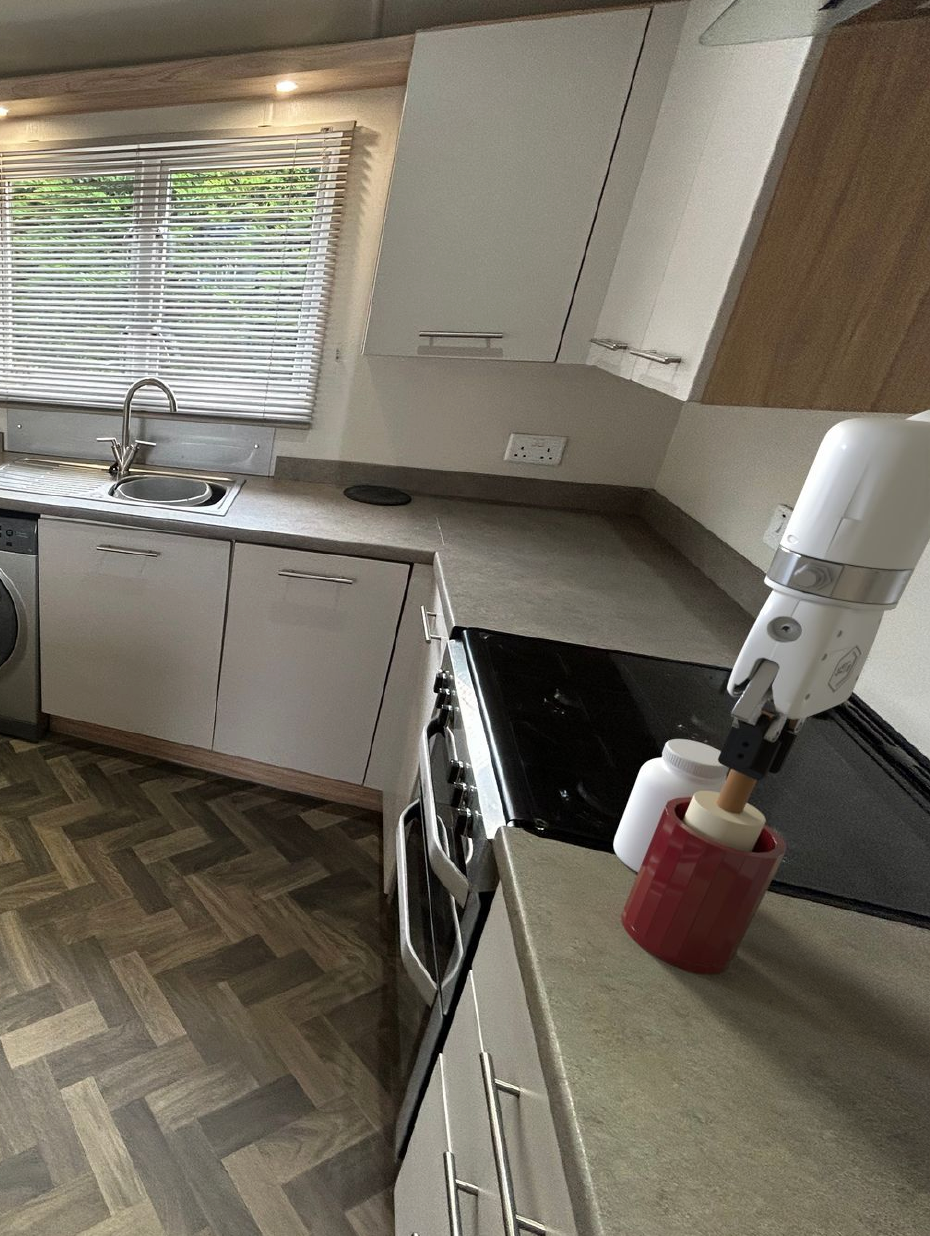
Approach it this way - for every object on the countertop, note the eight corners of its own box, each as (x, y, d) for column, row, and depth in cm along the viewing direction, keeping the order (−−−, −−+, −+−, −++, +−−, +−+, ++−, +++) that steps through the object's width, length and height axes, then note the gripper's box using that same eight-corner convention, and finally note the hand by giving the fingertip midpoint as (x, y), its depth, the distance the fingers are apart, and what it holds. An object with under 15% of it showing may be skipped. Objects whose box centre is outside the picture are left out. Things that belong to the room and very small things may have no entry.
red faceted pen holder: (650, 896, 76) (695, 788, 71) (747, 956, 69) (805, 842, 64) (602, 920, 73) (646, 809, 68) (699, 986, 66) (756, 868, 61)
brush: (686, 843, 71) (751, 695, 65) (748, 877, 67) (824, 722, 61) (657, 856, 69) (721, 705, 63) (719, 892, 65) (794, 734, 59)
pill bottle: (594, 846, 84) (634, 737, 78) (642, 832, 86) (684, 726, 80) (666, 895, 76) (716, 780, 71) (717, 879, 79) (769, 766, 73)
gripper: (850, 607, 51) (752, 815, 58) (945, 579, 57) (846, 771, 64) (724, 573, 57) (648, 764, 64) (821, 551, 63) (743, 728, 70)
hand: (748, 766), depth 64 cm, fingers closed on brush
